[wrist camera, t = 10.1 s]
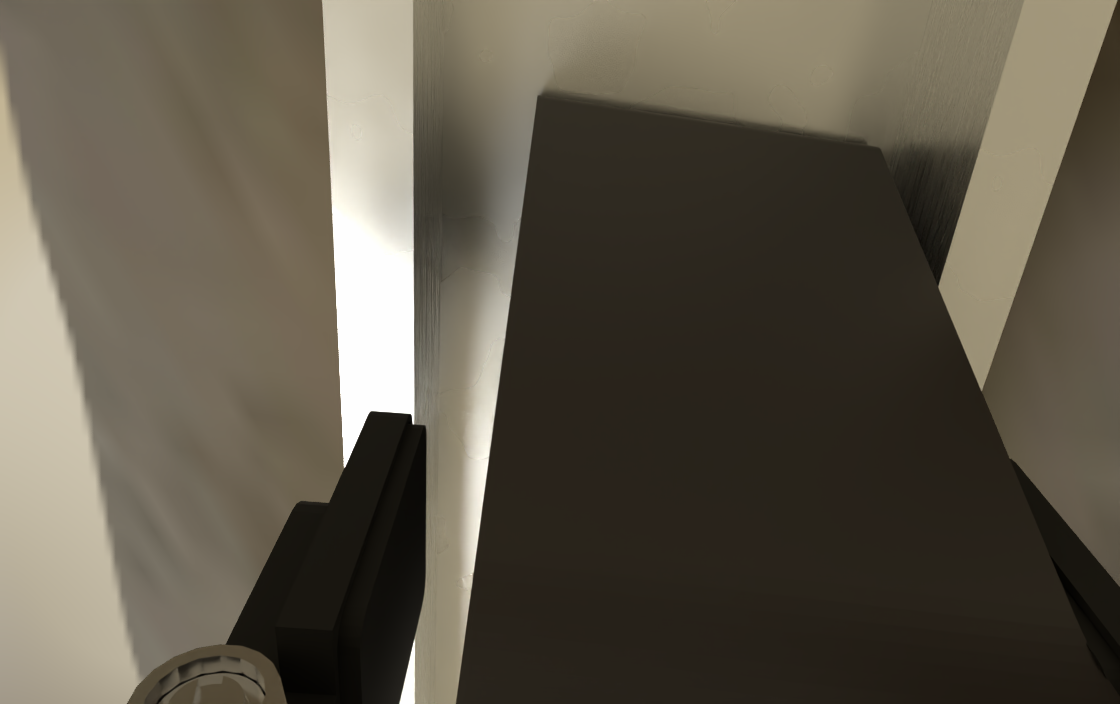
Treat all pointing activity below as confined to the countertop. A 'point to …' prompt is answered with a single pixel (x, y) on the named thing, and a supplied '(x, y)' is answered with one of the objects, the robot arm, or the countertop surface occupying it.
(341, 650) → the robot arm
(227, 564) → the countertop surface
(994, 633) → the phone stand
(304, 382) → the countertop surface
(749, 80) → the aluminium track
